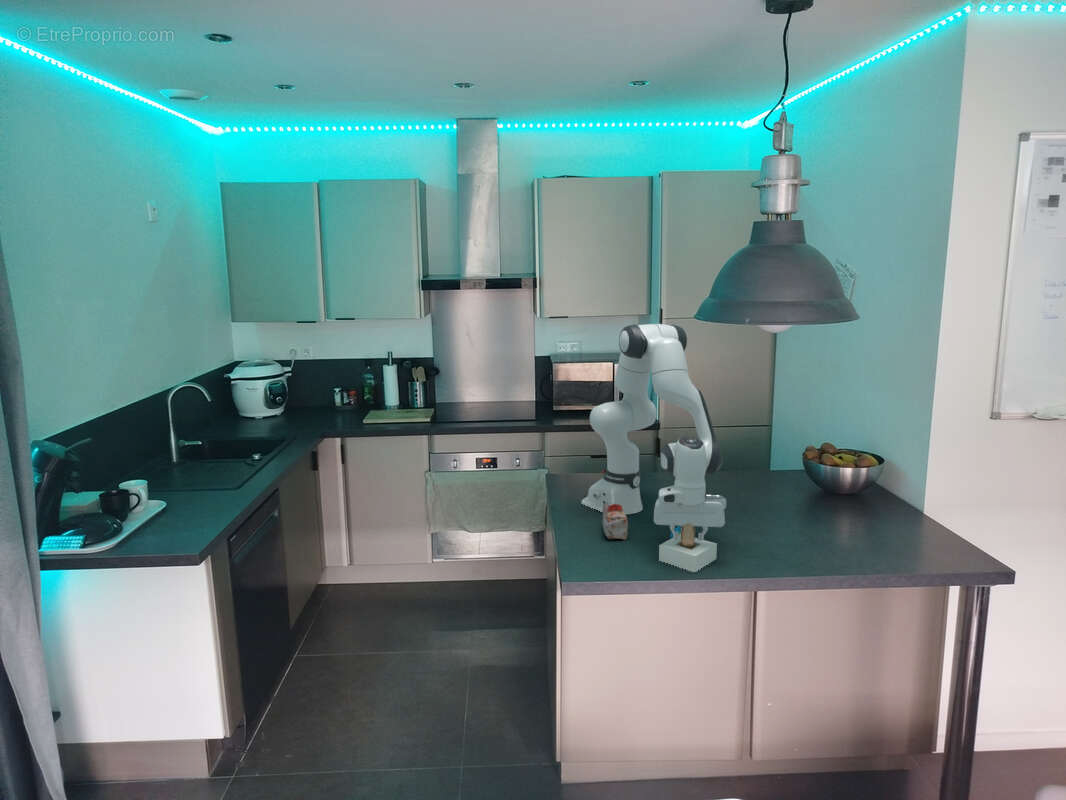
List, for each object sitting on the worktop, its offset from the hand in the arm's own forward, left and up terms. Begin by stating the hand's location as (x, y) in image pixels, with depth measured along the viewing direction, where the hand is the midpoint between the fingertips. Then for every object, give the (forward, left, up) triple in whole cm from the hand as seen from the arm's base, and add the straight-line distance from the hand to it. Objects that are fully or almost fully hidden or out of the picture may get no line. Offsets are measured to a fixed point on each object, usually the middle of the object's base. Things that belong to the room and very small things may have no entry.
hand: (688, 539), depth 209 cm
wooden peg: (0, 0, -7) cm, 7 cm away
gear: (-10, +13, -7) cm, 18 cm away
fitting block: (0, 0, -7) cm, 7 cm away
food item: (-29, +3, -7) cm, 30 cm away
